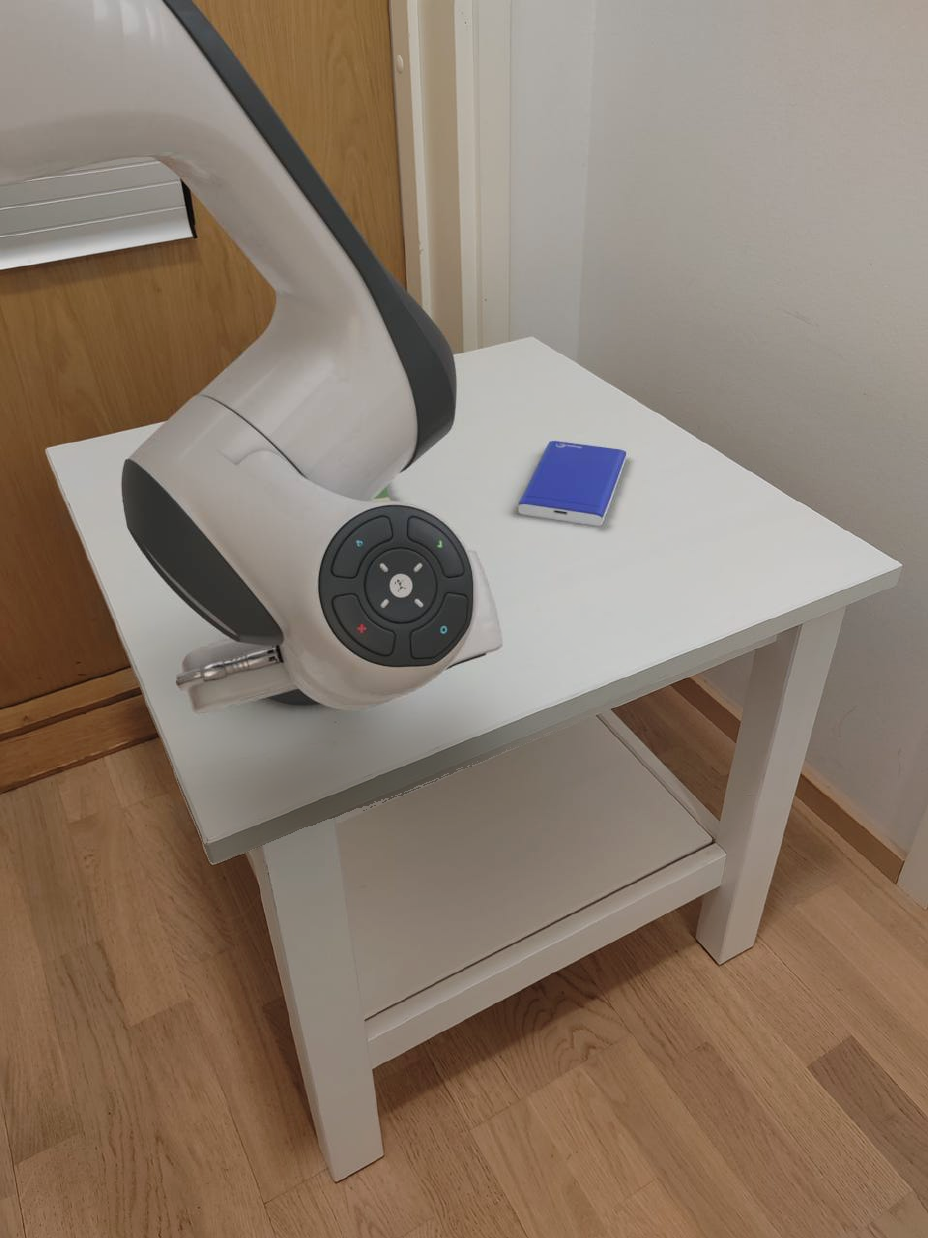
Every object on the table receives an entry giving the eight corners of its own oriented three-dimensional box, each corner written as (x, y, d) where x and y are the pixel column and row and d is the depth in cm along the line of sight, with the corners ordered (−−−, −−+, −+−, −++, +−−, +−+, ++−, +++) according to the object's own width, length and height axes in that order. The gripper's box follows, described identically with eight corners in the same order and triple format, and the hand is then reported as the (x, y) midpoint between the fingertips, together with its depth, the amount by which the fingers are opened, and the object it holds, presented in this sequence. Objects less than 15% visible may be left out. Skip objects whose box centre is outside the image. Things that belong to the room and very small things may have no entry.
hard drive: (549, 439, 100) (518, 500, 91) (626, 449, 98) (603, 513, 89) (548, 452, 101) (518, 514, 92) (625, 463, 99) (602, 527, 90)
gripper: (188, 735, 52) (197, 740, 66) (528, 641, 58) (473, 663, 71) (159, 625, 53) (174, 652, 66) (499, 541, 58) (450, 582, 72)
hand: (331, 657), depth 69 cm, fingers closed, pressing on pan
